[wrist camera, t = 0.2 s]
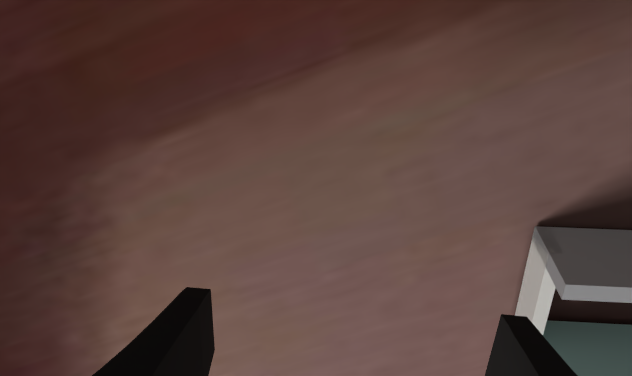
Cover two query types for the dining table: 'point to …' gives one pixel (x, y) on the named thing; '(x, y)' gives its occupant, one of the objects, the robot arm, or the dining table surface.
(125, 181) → the dining table surface
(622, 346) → the panel
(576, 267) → the pusher lane
